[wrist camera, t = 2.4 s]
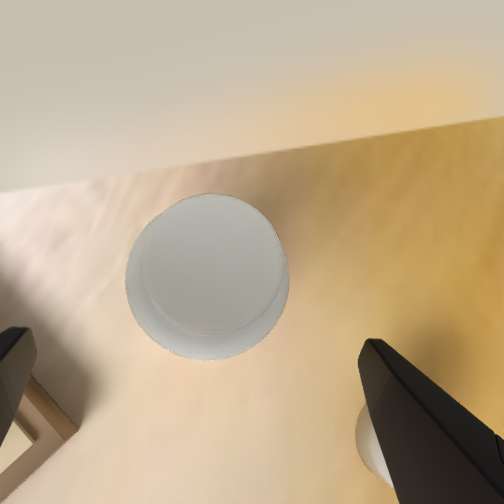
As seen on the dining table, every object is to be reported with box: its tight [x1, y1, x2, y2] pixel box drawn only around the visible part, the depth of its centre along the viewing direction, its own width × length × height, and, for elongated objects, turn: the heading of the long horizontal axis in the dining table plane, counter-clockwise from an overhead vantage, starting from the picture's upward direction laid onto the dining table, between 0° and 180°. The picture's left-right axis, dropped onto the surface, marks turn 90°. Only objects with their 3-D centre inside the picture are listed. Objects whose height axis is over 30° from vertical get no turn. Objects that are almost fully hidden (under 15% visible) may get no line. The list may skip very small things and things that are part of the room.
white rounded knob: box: [356, 405, 394, 489], centre depth 17 cm, size 4×4×4 cm
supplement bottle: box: [125, 194, 289, 361], centre depth 14 cm, size 6×6×10 cm
